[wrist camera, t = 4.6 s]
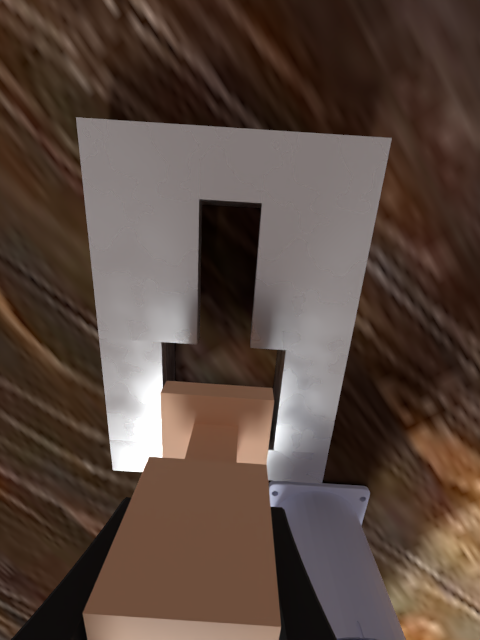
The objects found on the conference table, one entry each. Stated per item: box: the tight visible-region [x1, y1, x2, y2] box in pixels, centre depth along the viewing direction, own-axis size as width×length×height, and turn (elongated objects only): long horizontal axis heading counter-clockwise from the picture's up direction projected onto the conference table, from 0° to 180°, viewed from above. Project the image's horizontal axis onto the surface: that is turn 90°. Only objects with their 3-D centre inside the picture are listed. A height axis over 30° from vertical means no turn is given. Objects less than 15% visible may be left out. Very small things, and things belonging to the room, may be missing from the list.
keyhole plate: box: [76, 117, 392, 484], centre depth 17 cm, size 20×14×3 cm
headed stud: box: [83, 381, 281, 640], centre depth 10 cm, size 5×5×8 cm
